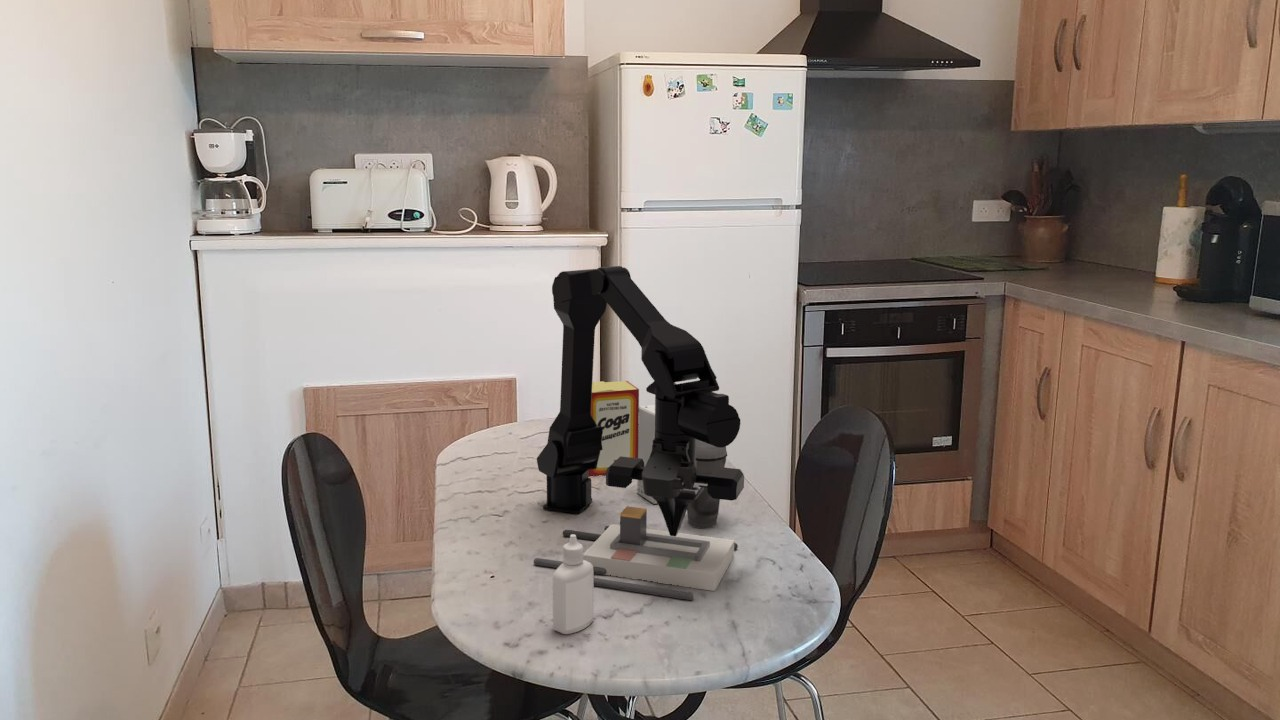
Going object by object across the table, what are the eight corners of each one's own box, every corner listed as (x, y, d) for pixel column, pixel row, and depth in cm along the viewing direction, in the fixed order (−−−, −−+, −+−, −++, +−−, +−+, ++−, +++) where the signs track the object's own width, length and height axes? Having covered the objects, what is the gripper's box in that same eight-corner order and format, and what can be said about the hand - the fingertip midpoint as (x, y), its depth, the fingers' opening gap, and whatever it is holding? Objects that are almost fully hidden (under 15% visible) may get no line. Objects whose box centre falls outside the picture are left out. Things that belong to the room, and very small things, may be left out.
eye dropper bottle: (600, 629, 121) (600, 539, 118) (556, 637, 119) (555, 545, 116) (589, 614, 125) (589, 526, 122) (547, 621, 123) (546, 532, 120)
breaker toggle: (620, 545, 140) (620, 513, 139) (626, 537, 142) (626, 506, 141) (640, 548, 139) (640, 516, 138) (646, 540, 142) (646, 508, 141)
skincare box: (653, 505, 162) (654, 415, 159) (635, 493, 168) (635, 405, 165) (696, 497, 166) (698, 409, 163) (677, 485, 172) (678, 400, 169)
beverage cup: (722, 533, 151) (726, 408, 147) (676, 529, 152) (678, 405, 148) (727, 516, 158) (731, 396, 154) (683, 512, 159) (685, 394, 155)
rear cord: (561, 536, 149) (561, 530, 149) (572, 526, 153) (572, 520, 153) (731, 560, 141) (731, 553, 141) (738, 548, 146) (738, 542, 145)
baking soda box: (626, 460, 185) (627, 378, 182) (638, 471, 179) (638, 387, 176) (578, 465, 182) (578, 382, 179) (588, 476, 176) (588, 391, 173)
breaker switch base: (583, 571, 137) (582, 550, 137) (611, 539, 148) (611, 519, 148) (714, 591, 132) (715, 569, 131) (733, 556, 143) (734, 535, 142)
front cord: (522, 575, 136) (522, 569, 135) (535, 562, 140) (535, 556, 140) (692, 601, 128) (693, 594, 128) (701, 587, 133) (701, 580, 132)
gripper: (591, 439, 130) (592, 548, 134) (728, 453, 125) (725, 566, 128) (618, 417, 141) (618, 519, 144) (746, 429, 135) (743, 535, 138)
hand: (673, 535), depth 138 cm, fingers closed
